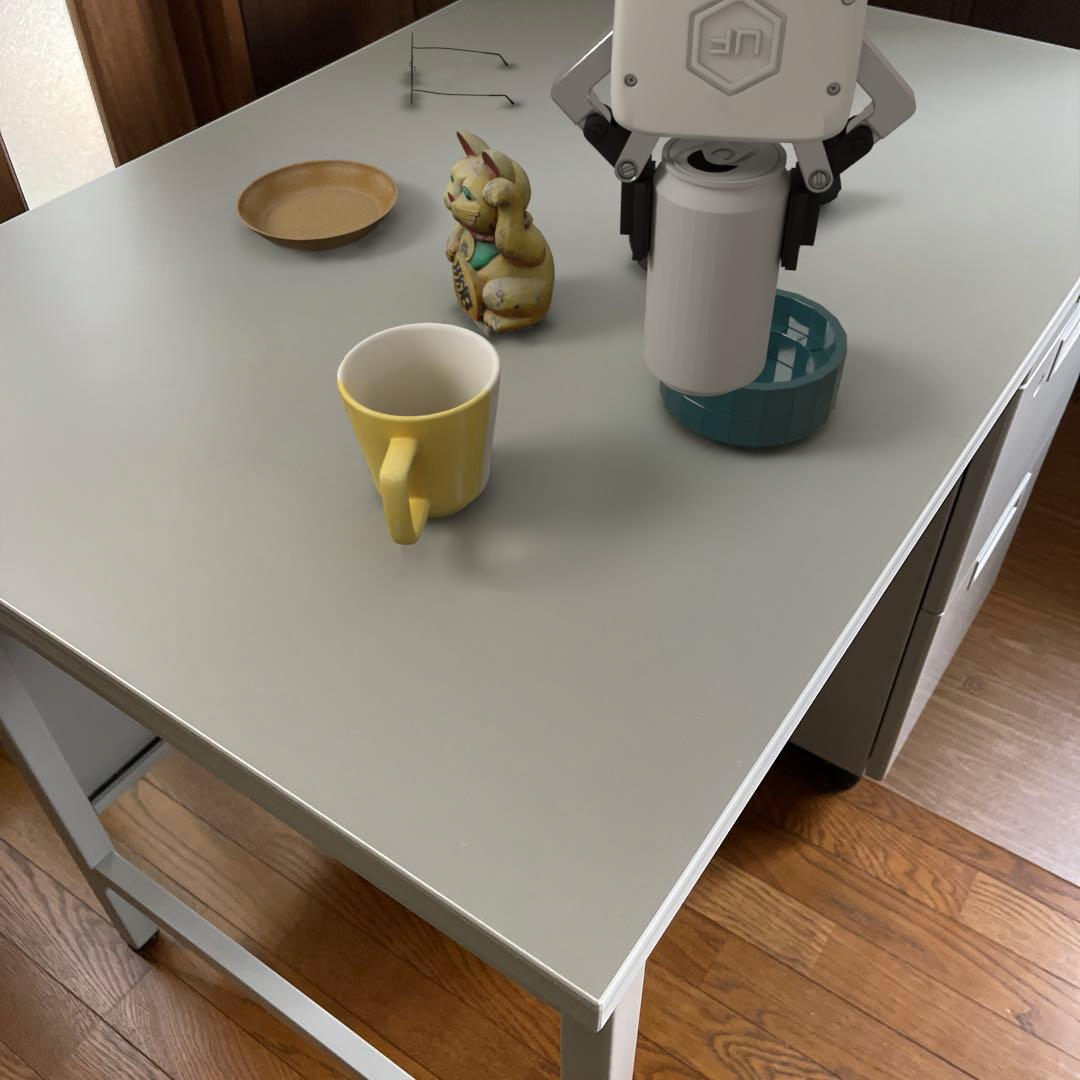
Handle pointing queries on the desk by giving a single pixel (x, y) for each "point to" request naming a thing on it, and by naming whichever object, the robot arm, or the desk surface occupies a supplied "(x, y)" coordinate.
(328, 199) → the plant saucer
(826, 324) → the bowl
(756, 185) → the beverage can
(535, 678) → the desk surface
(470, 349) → the mug
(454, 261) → the decorative figurine
